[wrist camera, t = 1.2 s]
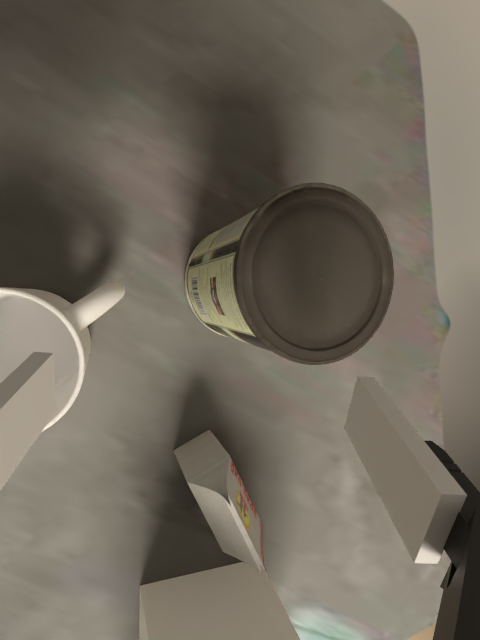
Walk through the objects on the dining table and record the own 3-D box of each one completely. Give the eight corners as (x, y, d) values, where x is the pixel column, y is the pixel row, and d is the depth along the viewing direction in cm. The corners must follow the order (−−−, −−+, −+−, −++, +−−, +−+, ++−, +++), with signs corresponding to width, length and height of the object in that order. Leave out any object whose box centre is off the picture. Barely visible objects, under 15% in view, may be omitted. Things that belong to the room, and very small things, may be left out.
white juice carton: (203, 510, 34) (240, 590, 25) (173, 450, 33) (200, 512, 24) (237, 487, 36) (285, 557, 26) (209, 429, 34) (248, 480, 25)
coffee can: (307, 289, 37) (421, 287, 23) (232, 360, 34) (311, 402, 21) (245, 202, 34) (335, 144, 21) (159, 273, 32) (197, 260, 18)
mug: (91, 243, 30) (84, 220, 20) (150, 327, 32) (169, 343, 22) (-56, 329, 27) (-148, 350, 17) (19, 416, 29) (-24, 478, 19)
